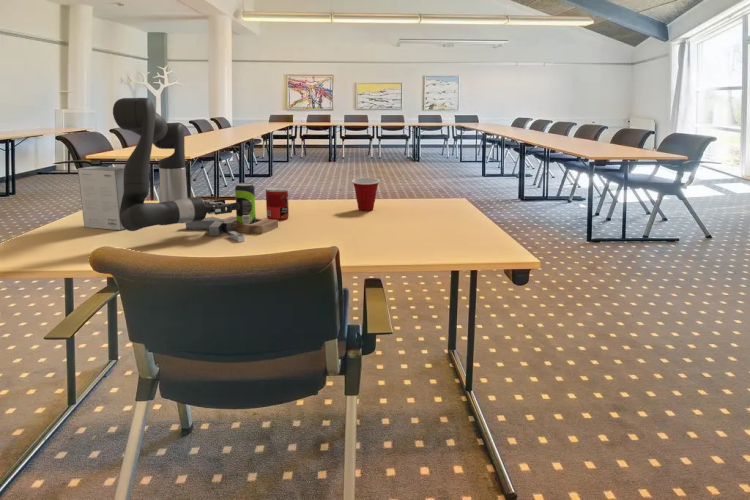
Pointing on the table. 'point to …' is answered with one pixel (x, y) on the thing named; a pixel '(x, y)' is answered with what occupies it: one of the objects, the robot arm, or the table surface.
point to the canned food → (277, 203)
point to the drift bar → (236, 236)
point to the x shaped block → (212, 225)
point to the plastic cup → (365, 192)
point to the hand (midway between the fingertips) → (231, 203)
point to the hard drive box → (101, 196)
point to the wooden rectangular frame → (254, 225)
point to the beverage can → (245, 203)
